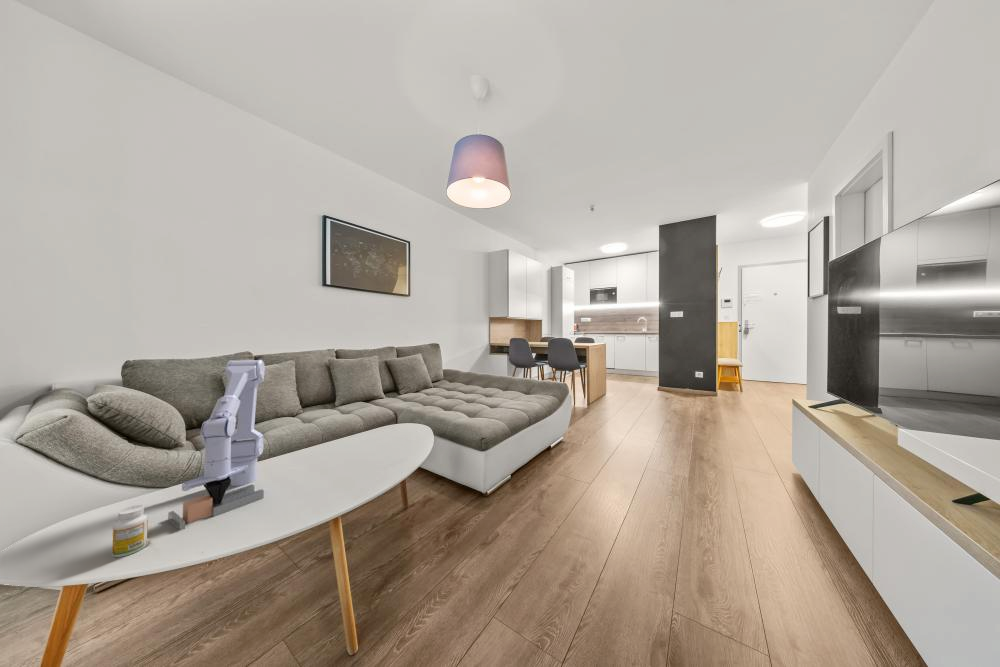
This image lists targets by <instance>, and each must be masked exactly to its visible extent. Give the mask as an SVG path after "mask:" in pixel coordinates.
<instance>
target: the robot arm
mask: <svg viewBox="0 0 1000 667" xmlns="http://www.w3.org/2000/svg"><path fill="white" fill-rule="evenodd" d="M265 370H266V366H265V362H264V361H263V360H262V359H246V360H243V359H242V360H233V359H231V360H229V361H228V362H226V364H225V370H224V372H225V376H226V378H227V381H228V382H227V384H226V388H225V391H224V394H223V396H220V397H219V398H217V401H216V403H215V404H214V408H213V410H212V412H211V414H210V417H209V418H207V420H205V421H203V423H202V425H201V428H200V432H199V434H200V437H201V440H202V442H201V444H202V446H204V465H203V466H204V468H203V470H204V471H203V472H204V473H203V475H201V476H198V477H195V478H192V479H190V480H187V481H184V482H183V481H182V482H181V491H183V492H187V491H190V490H191V489H195V488H197V487H201V486H203V487H204V489H205V490H206V491H207V493H208V494H209V496H210V497H212V498H213V503H212V505H213V506H214V505H217V504H220V503H221V502H222V499H223V496H224V494H225V493H227V492H226V491H227V489H228V488H229V486H232V487H240V486H245V485H246V486H247V485H250V484H252V483H254V482H256V481H257V480H258V457H260V456H261V455H262V454H263V452H264V447H265V446H264V434H263V433H262V432H260V431H258V430H256V429H255V423H256V422H255V421H256V411H257V410H256V408H257V398H258V397H257V395H258V388H259V384H262V383H264V379H265V372H266V371H265ZM237 415H238V416H237ZM236 417H237V418H236ZM236 424H237V427H236ZM235 430H236V432H235Z"/></svg>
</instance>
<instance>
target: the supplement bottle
mask: <svg viewBox="0 0 1000 667" xmlns="http://www.w3.org/2000/svg"><path fill="white" fill-rule="evenodd" d="M144 512H145V506H144V505H142V504H140V505H139V504H138V505H133V506H130V507H126V508H124V509H122V510H120V511H119V512H118V516H117V517H118V518H117V519H118V520H117V521H116V522H115V523H114V524H113V527H112V553H111V554H112V556H113V557H114V558H121V557H127V556H130V555H132V554H135V553H137V552H140V551H141V550H142V549H144V548H145V547H146V546H147V545H148V527H149V526H148V524H149V523H148V522H149V516H148V514H147V513H144Z"/></svg>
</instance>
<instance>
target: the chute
mask: <svg viewBox="0 0 1000 667" xmlns="http://www.w3.org/2000/svg"><path fill="white" fill-rule="evenodd" d="M264 494H265V491H264V490H263V488H261V489H257V490H256V491H255V485H254V484H248V485H246V486H243V487H240V488H237V489H234V490H230V491H228V492H225V494H224V496H223V499H222V502H221V503H220V504H217V505H214V506H213V505H212V513H211V515H210V516H212V517H214V518H215V517H216V516H217V517H218V516H219V515H221V514H225V513H227V512H230V511H233V510H235V509H238V508H241V507H244V506H246V505H250V504H252V503H254V502H257V501H260V500H262V499H264ZM167 516H168V517H167V521H169V522H170V523H171V524H172V525H173V526H174V527H175V528H176V529H177V530H178V531H179V532H180V531H183V530H185V529H186V521H185V520H184V519H183V517H181V516H180V515H179V514H178V513H177V512H175V511H174V510H172V511H168V514H167Z"/></svg>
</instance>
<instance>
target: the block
mask: <svg viewBox="0 0 1000 667" xmlns="http://www.w3.org/2000/svg"><path fill="white" fill-rule="evenodd" d="M182 502H183V503H182V519H183V520H184V521H185V523H187V524H189V523H192V522H194V521H197V520H200V519H202V518H206V517H208V516H212V515H211V513H212V503H213V498H212V497H210V495H208V494H204V495H201V496H198V497H194V498H191V499H189V500H185V501H182Z"/></svg>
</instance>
